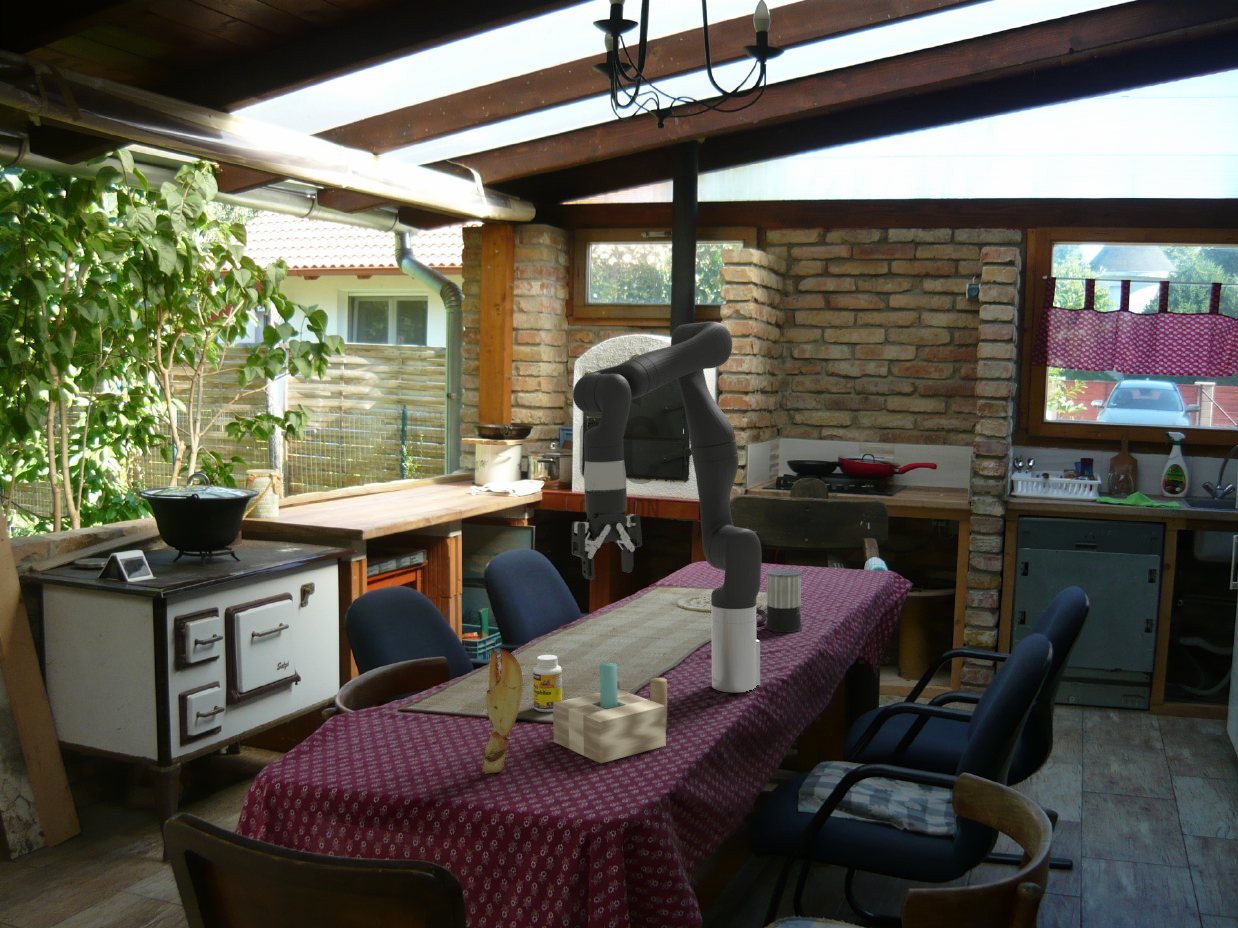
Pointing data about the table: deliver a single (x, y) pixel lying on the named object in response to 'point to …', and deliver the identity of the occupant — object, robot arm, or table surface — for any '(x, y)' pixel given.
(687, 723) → the table surface
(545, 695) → the supplement bottle
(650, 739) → the hole block
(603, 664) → the long pin
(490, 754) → the crab claw
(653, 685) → the medium pin
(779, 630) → the milk frother
